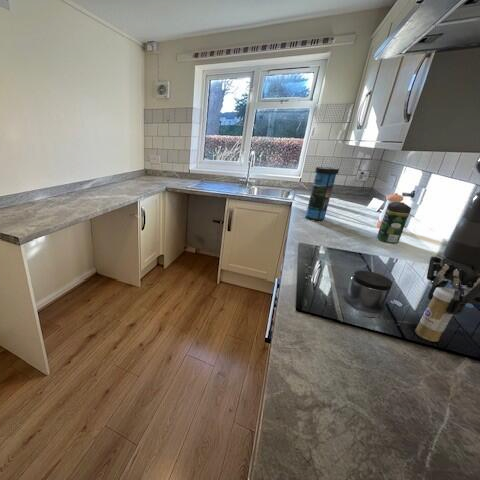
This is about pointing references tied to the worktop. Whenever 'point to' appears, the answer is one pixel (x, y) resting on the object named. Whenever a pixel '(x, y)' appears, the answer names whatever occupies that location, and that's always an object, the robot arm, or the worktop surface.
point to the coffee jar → (393, 222)
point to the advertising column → (321, 193)
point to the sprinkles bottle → (436, 315)
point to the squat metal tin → (368, 291)
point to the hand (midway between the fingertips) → (442, 305)
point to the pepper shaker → (389, 199)
